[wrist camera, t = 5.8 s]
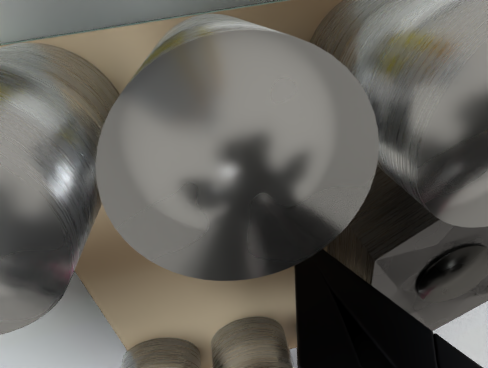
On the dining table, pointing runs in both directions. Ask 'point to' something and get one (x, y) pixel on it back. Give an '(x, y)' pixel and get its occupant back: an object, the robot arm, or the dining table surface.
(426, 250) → the nut
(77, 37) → the board
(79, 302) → the dining table surface
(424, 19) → the spacers
